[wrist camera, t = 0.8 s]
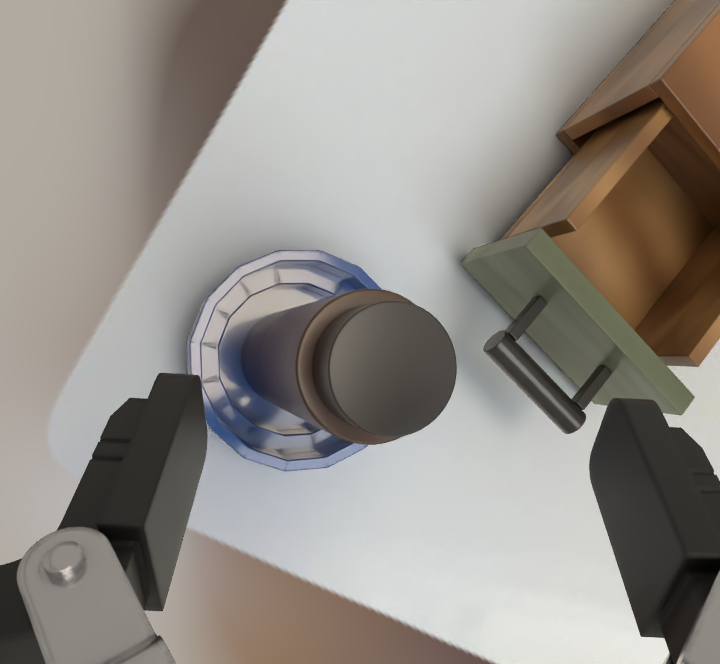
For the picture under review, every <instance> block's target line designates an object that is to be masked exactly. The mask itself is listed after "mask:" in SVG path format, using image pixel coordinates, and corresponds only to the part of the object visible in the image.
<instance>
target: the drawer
mask: <svg viewBox="0 0 720 664" xmlns="http://www.w3.org/2000/svg"><path fill="white" fill-rule="evenodd" d="M461 265H462V266H463V267H464V268H465V269H466V270H467V271H468V272H469V273H470V274H471V275H472V276H473V277H474V278H475V279H476V280H477V281H478V282H479V284H480V285H481V286H482V287H483V288H484V289H485V290H486V291H487V292H488V293H489V294H490V295H491V296H492V297H493V298H494V299H495V300H496V301H497V302H498V303H499V305H500V306H501V307H502V308H503V309H504V310H505V311H506V312H507V313H508V314H509V315H510V316H511V317H512V318H513V319H514V321H513V322H512V323H511V325H510V326H509V327H508V328H507V329H506V330H505V331H504V330H503V331H500V332H498V333H496V334H495V335H493V336H492V337H491V338H490V339H489V340H488V341H487V343H486V344H485V346H484V349H483V350H484V352H485V353H486V354H487V355H488V356H489V357H490V358H491V359H492V360H493V361H494V362H495V363H496V364H497V365H498V366H499V367H500V368H501V369H502V370H503V371H504V372H505V373H506V374H507V375H508V376H509V377H510V378H511V379H512V380H513V381H514V382H515V383H516V384H517V386H518V387H519V388H520V389H521V390H522V391H523V392H524V393H525V394H526V395H527V396H528V397H529V398H530V399H531V400H532V401H533V402H534V403H535V404H536V405H537V406H538V407H539V408H540V409H541V410H542V411H543V412H544V413H545V414H546V415H547V416H548V417H549V418H550V419H551V420H552V421H553V422H554V423H555V424H556V425H557V426H558V427H559V428H560V429H561V430H562V431H563V433H565V434H570V433H573V432H575V431H577V430H578V429H579V428H580V427H581V426H582V425H583V424H584V422H585V420H586V415H585V413H584V412H583V411H582V410H584V409H585V408H586V407H587V405H588V404H589V403H590V401H592V402H593V403H594V404H600V405H607V406H608V404H609V402H610V401H611V400H612V399H613V398H629V399H648V400H654V401H655V402H656V403H657V404H658V406H659V407H660V409H661V411H662V413H667V414H675V415H682V414H683V413H684V411H685V410H686V409H687V407H688V406H689V405H690V403H691V402H692V401H693V399H694V398H695V397H694V396H693V395H692V393H691V392H690V391H689V390H688V389H687V388H686V387H685V386H684V385H683V383H682V382H681V381H680V380H679V379H678V378H677V377H676V376H675V375H674V374H673V372H672V371H671V370H670V369H669V368H668V367H667V366H692V367H698V366H699V365H700V364H701V363H702V361H703V360H704V359H705V357H706V356H707V354H708V353H709V352H710V350H711V349H712V348H713V346H714V345H715V344H716V342H717V341H718V340H719V338H720V170H719V169H718V168H717V167H716V165H715V164H714V163H713V162H712V160H711V159H710V158H709V157H708V156H707V154H706V153H705V152H704V151H703V149H702V148H701V147H700V146H699V145H698V143H697V142H696V141H695V140H694V138H693V137H692V136H691V135H690V134H689V132H688V131H687V130H686V129H685V127H684V126H683V125H682V124H681V123H680V121H679V120H678V119H677V118H676V116H675V115H674V114H673V113H672V112H671V110H670V109H669V108H668V107H667V105H666V104H665V103H664V102H663V101H662V99H661V98H660V97H658V98H656V99H654V100H652V101H650V102H648V103H646V104H644V105H642V106H640V107H638V108H636V109H634V110H632V111H630V112H628V113H626V114H624V115H622V116H620V117H618V118H616V119H614V120H612V121H610V122H608V123H606V124H604V125H602V126H600V127H598V128H597V129H596V130H595V132H594V133H593V134H592V135H591V136H590V137H589V138H588V140H587V141H586V142H585V143H584V144H583V145H582V146H581V148H580V149H579V150H578V151H577V152H576V153H575V154H574V156H573V157H572V158H571V159H570V160H569V161H568V162H567V164H566V165H565V166H564V167H563V168H562V169H561V170H560V172H559V173H558V174H557V175H556V176H555V177H554V178H553V180H552V181H551V182H550V183H549V184H548V185H547V187H546V188H545V189H544V190H543V191H542V192H541V193H540V195H539V196H538V197H537V198H536V199H535V200H534V201H533V203H532V204H531V205H530V206H529V207H528V208H527V209H526V211H525V212H524V213H523V214H522V215H521V216H520V217H519V219H518V220H517V221H516V222H515V223H514V224H513V225H512V227H511V228H510V229H509V230H508V231H507V232H506V233H505V235H504V236H503V237H502V238H501V240H500V241H496V242H493V243H490V244H487V245H484V246H480V247H477V248H474V249H473V250H472V251H471V252H470V253H469V254H468V255H467V257H466V258H465V259H464V260H463V261H462V262H461ZM524 332H526V333H527V334H528V335H529V336H530V337H531V338H532V339H533V340H534V341H535V342H536V343H537V344H538V345H539V346H540V348H541V349H542V350H543V351H544V352H545V353H546V354H547V355H548V356H549V357H550V358H551V359H552V360H553V361H554V362H555V363H556V364H557V365H558V366H559V367H560V369H561V370H562V371H563V372H564V373H565V374H566V375H567V376H568V377H569V378H570V379H571V380H572V381H573V382H574V383H575V384H576V385H577V386H578V387H579V388H580V389H579V391H578V392H577V393H576V395H575V396H574V397H573V398H572V400H571V399H570V398H569V396H568V395H567V394H566V393H565V392H564V391H563V390H562V389H561V388H560V387H559V386H558V385H557V384H556V383H555V382H554V381H553V380H552V379H551V378H550V377H549V376H548V375H547V374H546V373H545V372H544V370H543V369H542V368H541V367H540V366H539V365H538V364H537V363H536V362H535V361H534V360H533V359H532V358H531V357H530V356H529V355H528V354H527V353H526V352H525V351H524V350H523V349H522V348H521V347H520V346H519V344H518V343H517V342H516V341H517V340H518V339H519V338H520V336H521V335H522V334H523V333H524ZM666 365H667V366H666Z"/></svg>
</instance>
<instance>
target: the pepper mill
mask: <svg viewBox="0 0 720 664" xmlns="http://www.w3.org/2000/svg"><path fill="white" fill-rule="evenodd" d="M241 361H242V369H243V373H244V376H245V378H246V380H247V382H248V384H249V385H250V387H251V388H252V389H253V391H254V392H255V393H256V394H257V395H259V396H260V397H261V398H263V399H264V400H266V401H268V402H270V403H272V404H274V405H276V406H278V407H280V408H281V409H283V410H285V411H287V412H289V413H291V414H293V415H295V416H297V417H299V418H301V419H303V420H305V421H307V422H309V423H310V424H312V425H314V426H316V427H318V428H320V429H322V430H324V431H326V432H328V433H330V434H332V435H334V436H336V437H338V438H340V439H343V440H345V441H348V442H352V443H356V444H363V445H375V444H382V443H387V442H390V441H393V440H396V439H398V438H400V437H403V436H405V435H408V434H412V433H414V432H417V431H419V430H421V429H423V428H424V427H426V426H427V425H429V424H430V423H431V422H432V421H434V420H435V419H436V418H437V417H438V416H439V415H440V413H441V412H442V411H443V409H444V408H445V407H446V405H447V403H448V401H449V399H450V397H451V395H452V392H453V389H454V385H455V380H456V369H457V365H456V356H455V351H454V348H453V345H452V342H451V339H450V337H449V335H448V333H447V332H446V330H445V329H444V327H443V326H442V325H441V323H440V322H439V321H438V320H437V319H436V318H435V317H434V316H433V315H432V314H430V313H429V312H427V311H426V310H424V309H423V308H421V307H419V306H417V305H415V304H414V303H412V302H411V301H410V300H408V299H407V298H405V297H403V296H401V295H399V294H396V293H393V292H390V291H386V290H381V289H359V290H354V291H350V292H346V293H343V294H339V295H336V296H332V297H329V298H325V299H322V300H318V301H315V302H311V303H308V304H304V305H301V306H297V307H294V308H290V309H287V310H283V311H280V312H276V313H273V314H271V315H269V316H267V317H265V318H263V319H262V320H260V321H259V322H258V323H257V324H256V325H255V326H254V327H253V328H252V329H251V331H250V332H249V334H248V335H247V337H246V340H245V342H244V345H243V349H242V357H241Z"/></svg>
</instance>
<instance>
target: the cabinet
mask: <svg viewBox="0 0 720 664" xmlns="http://www.w3.org/2000/svg"><path fill="white" fill-rule="evenodd" d="M658 97H660V98H661V99H662V101H663V102H664V103H665V104H666V105H667V107H668V108H669V109H670V110H671V112H672V113H673V114H674V115H675V116H676V118H677V119H678V120H679V121H680V123H681V124H682V125H683V126H684V127H685V129H686V130H687V131H688V132H689V134H690V135H691V136H692V137H693V138H694V140H695V141H696V142H697V143H698V145H699V146H700V147H701V148H702V149H703V151H704V152H705V153H706V154H707V156H708V157H709V158H710V159H711V160H712V162H713V163H714V164H715V165H716V167H717V168H718V169H719V170H720V0H675V1H674V2H673V3H672V4H671V6H670V7H669V8H668V9H667V10H666V11H665V12H664V13H663V15H662V16H661V17H660V18H659V19H658V20H657V21H656V22H655V24H654V25H653V26H652V27H651V28H650V29H649V30H648V31H647V33H646V34H645V35H644V36H643V37H642V38H641V39H640V40H639V42H638V43H637V44H636V45H635V46H634V47H633V48H632V49H631V51H630V52H629V53H628V54H627V55H626V56H625V57H624V58H623V60H622V61H621V62H620V63H619V64H618V65H617V66H616V67H615V69H614V70H613V71H612V72H611V73H610V74H609V75H608V76H607V77H606V79H605V80H604V81H603V82H602V83H601V84H600V85H599V86H598V88H597V89H596V90H595V91H594V92H593V93H592V94H591V95H590V97H589V98H588V99H587V100H586V101H585V102H584V103H583V104H582V106H581V107H580V108H579V109H578V110H577V111H576V112H575V113H574V115H573V116H572V117H571V118H570V119H569V120H568V121H567V122H566V124H565V125H564V126H563V127H562V128H561V129H560V130H559V131H558V133H557V134H556V135H557V136H558V137H559V138H560V139H561V141H562V142H563V143H564V144H565V145H566V146H567V147H568V149H569V150H570V151H571V152H572V153H573V154H575V153H576V152H577V151H578V150H579V149H580V148H581V146H582V145H583V144H584V143H585V142H586V141H587V140H588V138H589V137H590V136H591V135H592V134H593V133H594V132H595V130H596V129H597V128H598V127H600V126H602V125H604V124H606V123H608V122H610V121H612V120H614V119H616V118H618V117H620V116H622V115H624V114H626V113H628V112H630V111H632V110H634V109H636V108H638V107H640V106H642V105H644V104H646V103H648V102H650V101H652V100H654V99H656V98H658Z"/></svg>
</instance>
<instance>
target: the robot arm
mask: <svg viewBox="0 0 720 664" xmlns="http://www.w3.org/2000/svg"><path fill="white" fill-rule="evenodd" d="M100 438H101V440H100V442H98V444H97V446H96V448H95V450H94V453H93V455H92V460H90V461H89V463H88V466H87V468H86V470H85V472H84V474H83V476H82V479H81V481H80V483H79V485H78V487H77V489H76V492H75V494H74V496H73V498H72V500H71V502H70V505H69V507H68V509H67V511H66V514H65V516H64V518H63V520H62V522H61V524H60V526H59V527H58V529H57V531H55V532H52V533H50V534H49V535H47V536H45V537H43V538H42V539H40V540H39V541H37V542H36V543H35V544H34V545H33V546H32V547H31V548H30V549H29V550H28V551H27V552H26V554H25V555H24V557H23V558H22V559H19V560H17V561H14V562H11V563H8V564H5V565H0V664H176V662H175V660H174V659H173V657H172V655H171V653H170V651H169V649H168V647H167V645H166V643H165V642H164V640H163V639H162V637H161V636H157V635H156V634H155V632H154V630H153V628H152V626H151V624H150V622H149V620H148V618H147V617H146V614H145V612H144V610H149V611H163V608H164V605H165V601H166V597H167V594H168V591H169V587H170V583H171V580H172V576H173V573H174V569H175V566H176V562H177V558H178V555H179V551H180V548H181V544H182V541H183V537H184V533H185V530H186V526H187V523H188V519H189V515H190V512H191V508H192V505H193V501H194V498H195V494H196V490H197V487H198V483H199V480H200V476H201V473H202V469H203V465H204V462H205V457H206V450H207V426H206V418H205V410H204V401H203V393H202V385H201V379H200V377H199V375H192V374H173V373H159V374H158V376H157V378H156V380H155V382H154V385H153V387H152V389H151V392H150V394H149V397H148V399H141V398H129V399H128V400H127V401H126V402H125V403H124V404H123V405H122V406H121V407H120V408H119V409H118V410H116V411H115V412H114V413H113V414H112V415H111V416H110V418H109V420H108V422H107V425H106V427H105V429H104V431H103V433H102V435H101V437H100ZM589 470H590V479H591V484H592V487H593V490H594V493H595V496H596V499H597V502H598V505H599V509H600V512H601V515H602V518H603V521H604V524H605V527H606V530H607V533H608V536H609V539H610V542H611V546H612V549H613V552H614V555H615V558H616V561H617V564H618V567H619V570H620V573H621V576H622V579H623V583H624V586H625V589H626V592H627V595H628V598H629V601H630V604H631V607H632V610H633V613H634V616H635V620H636V623H637V626H638V629H639V632H640V635H641V637H659V638H665V641H666V644H667V646H668V649H669V654H668V656H667V657H666V659H665V661H664V663H663V664H720V481H719V479H718V477H717V475H714V470H713V468H712V466H711V464H710V462H709V460H708V458H707V456H706V454H705V452H704V451H703V449H702V447H701V446H700V445H698V444H697V443H696V442H695V441H694V440H693V439H692V438H691V437H690V436H689V435H688V434H687V433H686V432H685V431H684V430H683V429H682V428H676V427H669V426H668V424H667V422H666V420H665V418H664V416H663V414H662V411H661V409H660V407H659V406H658V404H657V403H656V402H655V401H654V400H648V399H629V398H613V399H612V400H611V401H610V402H609V404H608V407H607V409H606V412H605V415H604V418H603V420H602V423H601V426H600V429H599V432H598V434H597V437H596V440H595V443H594V445H593V448H592V451H591V455H590V464H589Z"/></svg>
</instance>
